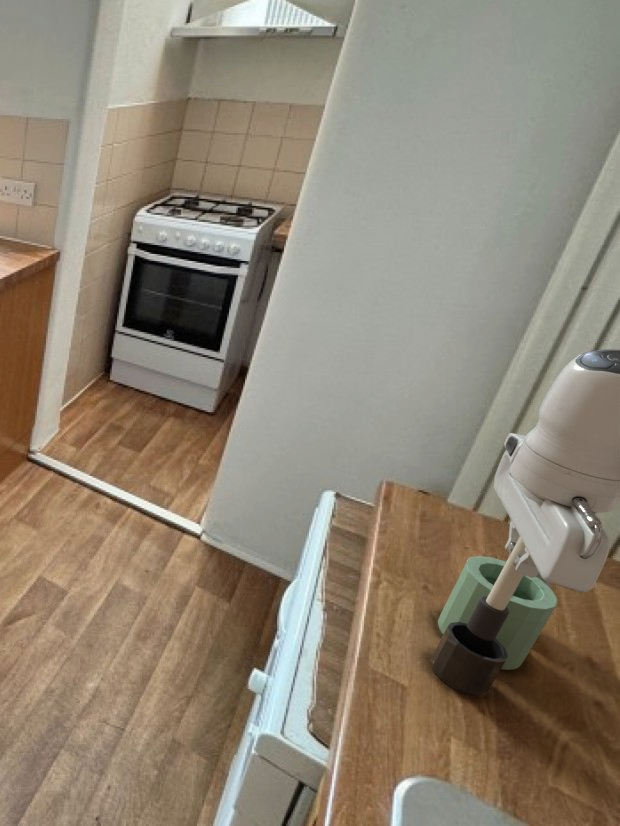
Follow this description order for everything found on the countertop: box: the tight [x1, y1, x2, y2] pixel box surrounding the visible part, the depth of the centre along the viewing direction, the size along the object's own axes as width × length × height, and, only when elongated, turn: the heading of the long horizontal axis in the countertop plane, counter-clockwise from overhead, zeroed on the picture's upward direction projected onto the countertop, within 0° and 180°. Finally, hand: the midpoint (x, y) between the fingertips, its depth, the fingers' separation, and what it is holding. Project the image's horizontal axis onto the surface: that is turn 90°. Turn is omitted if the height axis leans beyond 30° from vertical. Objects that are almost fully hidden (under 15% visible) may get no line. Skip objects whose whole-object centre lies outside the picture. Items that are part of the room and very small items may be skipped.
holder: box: [430, 622, 508, 698], centre depth 83 cm, size 6×6×7 cm
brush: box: [467, 537, 526, 641], centre depth 78 cm, size 3×3×17 cm
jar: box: [437, 555, 559, 671], centre depth 88 cm, size 9×9×12 cm
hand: (518, 563), depth 77 cm, fingers closed on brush, 2 cm apart
